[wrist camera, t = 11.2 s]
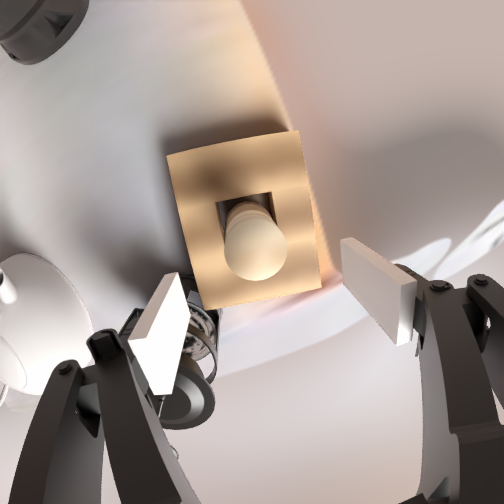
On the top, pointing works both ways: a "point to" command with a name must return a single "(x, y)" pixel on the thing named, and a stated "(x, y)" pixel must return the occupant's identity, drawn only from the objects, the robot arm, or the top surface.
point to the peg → (253, 242)
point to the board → (239, 185)
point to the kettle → (38, 323)
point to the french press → (189, 369)
